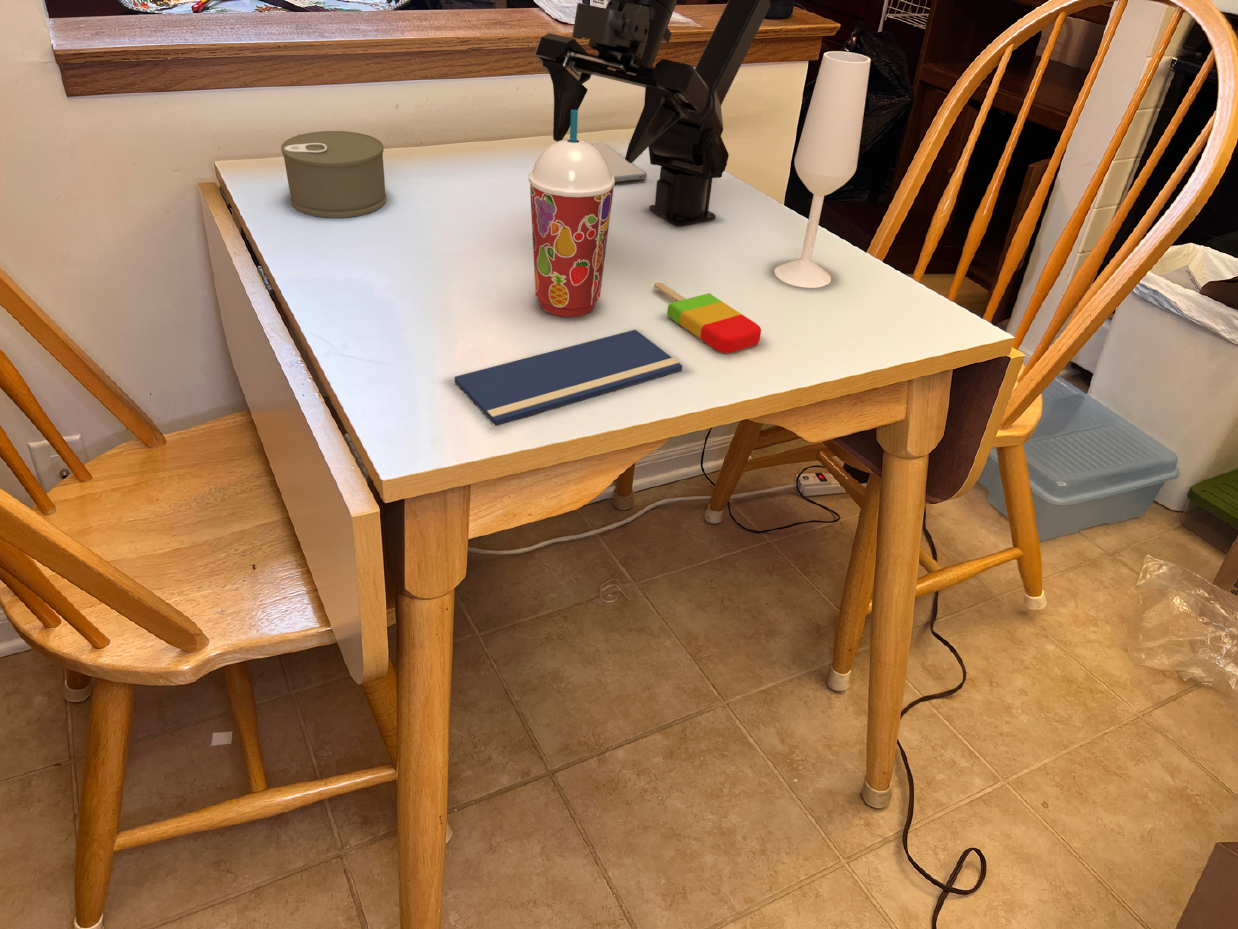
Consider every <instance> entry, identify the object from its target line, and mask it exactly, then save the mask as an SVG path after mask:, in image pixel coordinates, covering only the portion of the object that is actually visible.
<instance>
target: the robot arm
mask: <svg viewBox="0 0 1238 929" xmlns="http://www.w3.org/2000/svg"><path fill="white" fill-rule="evenodd" d="M779 1H780V0H728V1H727V3H726V5H725V7H724V9H723V11H722V13H721V16H720V17H719V20H718V21H717V23H716V25H715V27H714V29H713V32H712V33H711V35H710V37H709V39H708V41H707V43H706V45H705V47H704V49H703V51H702V54H701V55H700V57H699V58H698V61H697V63H696V65H695V67H694V65H692V64H689V63H683V62H680V61H675V60H670V59H666V58H662V59H661V60H659V61H658V62H656V64H654V63H655V61H656V59H657V56H658V53H659V51H660V48H661V45H662V43H667V44H668V43H670V40H671V37H672V35H673V33H672V32H671V30H670V29H669V28H668V26H669V24H670V21H671V18H672V16H673V14H674V11H675V9H676V5H677V3H678V0H608V1H607V4H606V6H605V7H601V6H596V5H591V4H586V3H582V2H581V3H580V2H577V4H576V9H575V17H574V22H573V23H574V24H573V28H572V35H571V37H569V36H565V35H560V34H555V33H550V32H548V33H546V34H544V35H543V36H541V37H540V38H539V40H538V43H537V46H536V49H535V52H534V54H533V56H534V57H535V58H536V59H537V60H538V62H540V63H541V66H542V69H543V70H545V72H546V73H547V74H549V76H550V80H551V82H552V90H553V124H552V126H553V127H552V129H553V130H552V139H553V141H555V142H558V141H560V140H564V138H565V136H567V133H568V131H570V123H571V110H577V111H578V112H579V109H580V107H581V105H582V104H583V101H584V99H585V97H586V95H587V93H588V90H589V89H588V88H587V87H586V86H585V85H584V84H585V83H586V82H588V81H589V80H590V79H591V77H592V76H596V77H600V78H605V79H608V80H612V81H617V82H621V83H624V84H629V85H633V86H636V87H641V88H645V89H644V103H643V109H642V110H641V113H640V116H639V118H638V121H637V123H636V126H635V127H634V130H633V133H632V135H631V138H630V140H629V143H628V146H627V149H626V152H625V153H626V154H625V157H624V158H625V160H626V161H627V162H628V163H633V164H634V162H635V161H636V160H637V159H638V158H639V157H640V156H641V155H642V154H643V153H644V152H645V151H646V150H647V149H648V154H649V163H650V164H649V165H653V166H659V167H660V169H659V179H657V181H656V186H655V199H654V204H652V205H651V204H650V205H649V206H648V207H649V208H648V210H649V211H651V212H652V213H653V214H656V215H657V216H659V217H661V218H662V219H664V220H665V221H667V222H669V223H670V224H672V225H674V226H675V227H682V226H687V225H693V224H698V223H703V222H706V221H707V222H708V221H711V220H716V217H717V215H716V214H715V213H714V212H711V211H710V209H709V208H710V202H711V201H710V200H711V194H712V186H713V179H721V178H722V177H723V173H724V172H725V171H726V167H727V166H728V161H729V158H730V157H729V156H730V154H729V152H728V149H727V148H726V145H725V143H724V140H723V138H722V134H723V132H724V122H723V112H722V105H723V103H724V101H725V98H726V96H727V95H728V93H729V91H730V88H731V86H732V84H733V83H734V80H735V78H736V76H737V75H738V72H739V70H740V68H741V67H742V64H743V62H744V61H745V58H746V56H747V54H748V52H749V50H750V48H751V46H752V44H753V42H754V40H755V38H756V36H757V33H758V32H759V29H760V28H761V27H762V26H761V25H762V24H763V22H764V20H765V17H766V15H767V13H768V12H769V9H770V8H771V6H772V5H774V4H776V3H777V2H779ZM576 39H577V40H582V39H587V40H589V41H588V46H589V47H590V48H591V49H592V50H594V51H597V52H598V53H597V55H595V54H593V53H592V54H591V53H588V52H587V50H586V49H585V48H584V47H583V46H582V45H581V44H580V43H579V42H578V41H577V40H576ZM654 65H655V66H654Z"/></svg>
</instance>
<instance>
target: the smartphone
mask: <svg viewBox="0 0 1238 929" xmlns="http://www.w3.org/2000/svg"><path fill="white" fill-rule="evenodd" d="M590 144H591V145H593V146H594V147H595V148H596V149H597V150H598V151H599V152H600V153H601V154H602V155H603V156H604V158H605V160H606V162H607V164H608V166H609V169H610V173H611V174H612V175H613V176H614V178H615V183H616V182H629V181H636V180H637V181H638V180H644V179H647V176H648V173H647V172H646V171H644V170H643V169H642V168H641V167H639V166H637V165H636V164H635V163H634V162H633V163H628V162H627V161H626V160H625V157H624V156H623V155H622V154H620V153H619V152H617V151H616V150H614V148H612V147H610V146H609V145H608V144H606V143H603V142H602V143H601V142H599V143H590Z"/></svg>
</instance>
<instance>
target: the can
mask: <svg viewBox="0 0 1238 929" xmlns="http://www.w3.org/2000/svg"><path fill="white" fill-rule="evenodd" d="M280 150H281V154H282V155H283V159H284V166H285V172H286V178H287V179H286V180H287V184H288V191H289V195H290V203H291V206H292V207H293V208H294V209H295V210H297V211H298V212H300V213H302V214H305V215H309V216H313V217H318V218H319V217H320V218H327V219H329V218H331V219H342V218H343V219H344V218H353V217H361V216H365V215H368V214H371V213H374V212H376V211H378V210H379V209H381V208H383V207H384V206H385V205H386V203H387V195H386V194H387V193H386V180H385V170H384V169H385V167H384V150H385V148H384V144H383V143H382V141H381V140H380V139H378V138H376V137H374V136H371V135H368V134H364V133H360V132H355V131H347V130H345V131H343V130H322V131H311V132H306V133H302V134H298V135H295V136H292V137H290V138H288V139H286V140H285V141H284V142H282V143H281V147H280Z"/></svg>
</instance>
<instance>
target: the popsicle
mask: <svg viewBox="0 0 1238 929" xmlns="http://www.w3.org/2000/svg"><path fill="white" fill-rule="evenodd" d="M653 284H654V285H653V287H654V288H656V289H657V290H659V291H660V292H661V293H663V294H665V295H666V296H667V297H669V298H671V299H672V300H673V302H669V304H668V305H667V317H668V318H670V319H671V320H672V321H673V322H676V323H677V324H678V325H679V326H681V327H683V329H685V330H687V331H688V332H689V333H691V334H693V335H694V336H695V337H697V338H698V339H700V340H701V341H702V342H704V343H705V344H707V346H710V347H711V348H713V349H714V350H716V351H717V352H719V353H722V354H731V353H734V352H738V351H742V350H745V349H748V348H751V347H754V346H757V345H758V344H759V342H760V340H761V335H762V328H761V326H760V325H759V324H757V323H756V322H755V321H753V319H750V318H749V317H747V316H746V315H744V314H742V313H741V312H740V311H738V310H736V309H734V308H733V307H731V306H730V305H729V304H727V303H725V302H724V301H722V300H721V299H720V298H718V297H716V296H714V295H713V294H711V293H705V294H699V295H697V296H692V297H689V298H685V297H683V295H682V294H681V295H680V293H678V292H676V291H675V290H674V289H672V288H671V287H669V286H667V285H665V283H663V282H660V281H656V282H654V283H653Z"/></svg>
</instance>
